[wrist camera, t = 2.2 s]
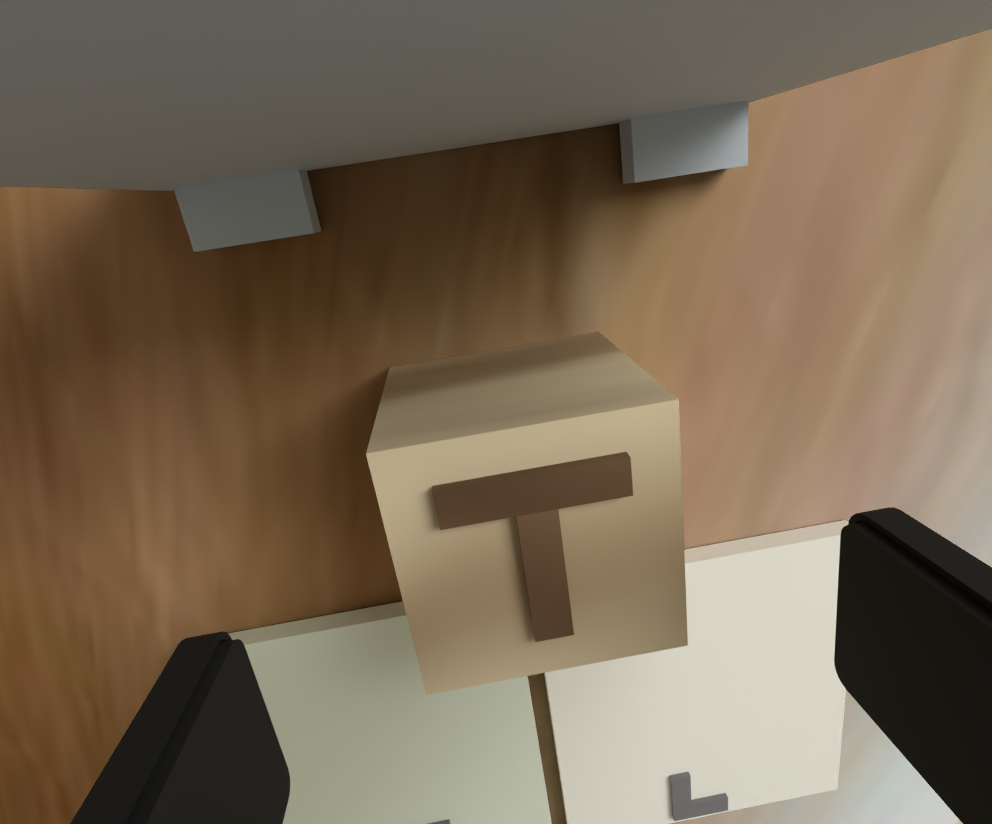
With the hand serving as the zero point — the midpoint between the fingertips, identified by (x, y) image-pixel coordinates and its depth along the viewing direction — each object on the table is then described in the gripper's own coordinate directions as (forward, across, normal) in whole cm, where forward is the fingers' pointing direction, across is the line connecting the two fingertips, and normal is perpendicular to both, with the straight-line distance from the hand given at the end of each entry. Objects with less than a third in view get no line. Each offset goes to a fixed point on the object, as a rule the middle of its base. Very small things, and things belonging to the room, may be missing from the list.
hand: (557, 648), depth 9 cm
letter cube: (+6, 0, -1) cm, 6 cm away
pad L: (+6, -5, +8) cm, 11 cm away
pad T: (+6, +5, +8) cm, 11 cm away
